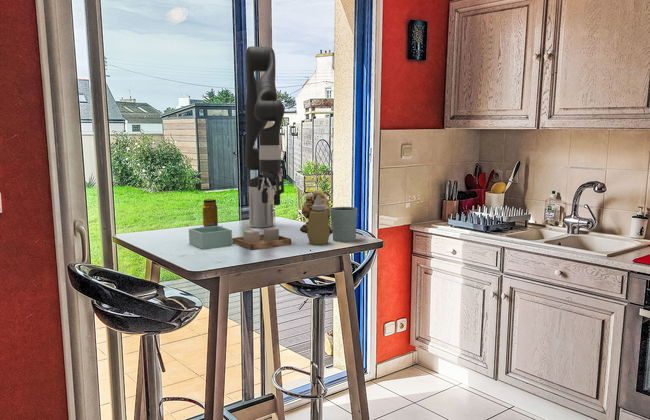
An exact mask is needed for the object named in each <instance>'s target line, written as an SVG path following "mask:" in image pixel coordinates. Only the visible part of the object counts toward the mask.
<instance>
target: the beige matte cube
mask: <svg viewBox="0 0 650 420" xmlns="http://www.w3.org/2000/svg"><path fill="white" fill-rule="evenodd" d="M260 233H261V231H259V230H255V229H249V230H243V236H242V237H244V241H245V242H248V243H251V244H254V243H260Z"/></svg>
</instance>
